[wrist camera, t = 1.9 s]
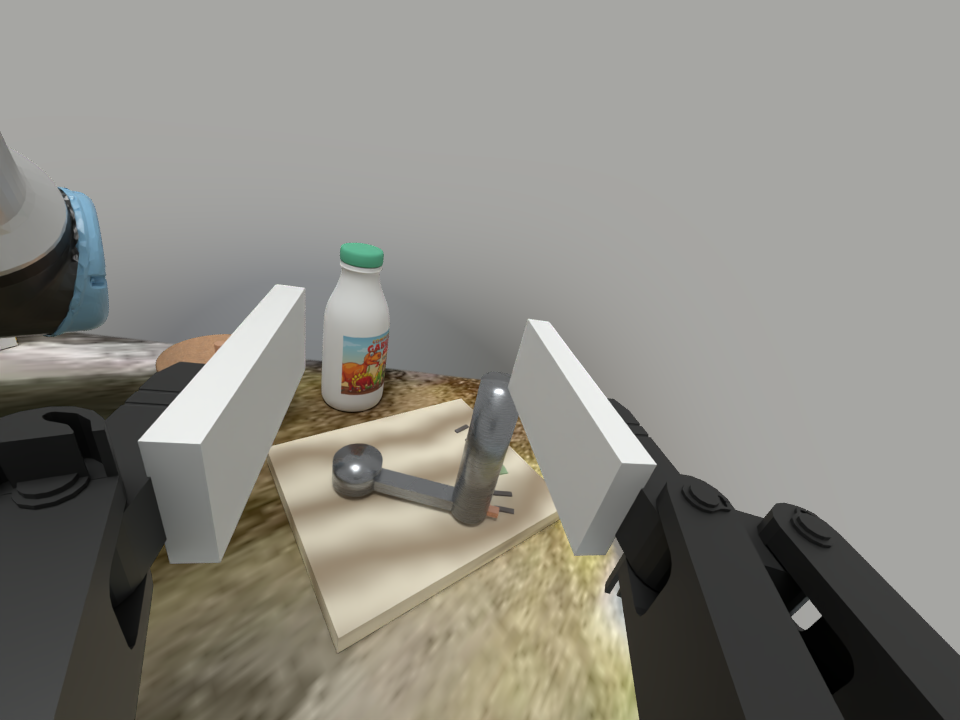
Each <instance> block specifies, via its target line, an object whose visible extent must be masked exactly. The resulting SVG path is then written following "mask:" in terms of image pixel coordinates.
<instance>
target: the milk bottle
mask: <svg viewBox="0 0 960 720" xmlns="http://www.w3.org/2000/svg"><path fill="white" fill-rule="evenodd" d="M383 257H384V254H383V251H382V250H381V249H379V248H377V247H374V246H372V245H368V244H362V243H346V244H343V245H342V246H341V249H340V259H341V262H340V265H341V266H342V272H341V276H340V279H339V281H338V284H337V286H336V288H335V289H334V291H333V293H332V295H331V296H330V298H329V301H328V303H327V306H326V310H325V315H324V327H323V351H322V352H323V353H322V396H323V398H324V400H325V402H326V403H327V404H328V405H330V406H331V407H333V408H335V409H338V410H341V411H347V412H357V411H364V410H367V409H370V408H372V407H374V406H375V405H376V404H377V403H378V402H379V401H380V399H381V397H382V393H383V385H384V376H385V367H386V358H387V348H388V338H389V324H390V320H389V319H390V318H389V310H388V305H387V303H386V300H385V297H384V294H383V291H382V288H381V283H380V271H382V264H383Z"/></svg>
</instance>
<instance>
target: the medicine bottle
mask: <svg viewBox="0 0 960 720" xmlns="http://www.w3.org/2000/svg"><path fill="white" fill-rule="evenodd" d="M17 344H18V341H17V339H16V337H10V338H0V350H1V349H5V348H9V347H13V346H16V345H17Z"/></svg>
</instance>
